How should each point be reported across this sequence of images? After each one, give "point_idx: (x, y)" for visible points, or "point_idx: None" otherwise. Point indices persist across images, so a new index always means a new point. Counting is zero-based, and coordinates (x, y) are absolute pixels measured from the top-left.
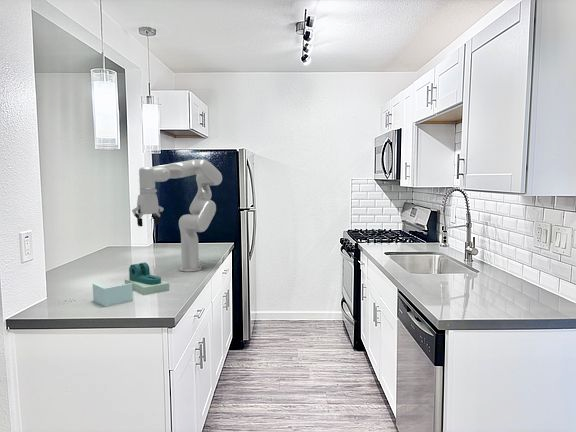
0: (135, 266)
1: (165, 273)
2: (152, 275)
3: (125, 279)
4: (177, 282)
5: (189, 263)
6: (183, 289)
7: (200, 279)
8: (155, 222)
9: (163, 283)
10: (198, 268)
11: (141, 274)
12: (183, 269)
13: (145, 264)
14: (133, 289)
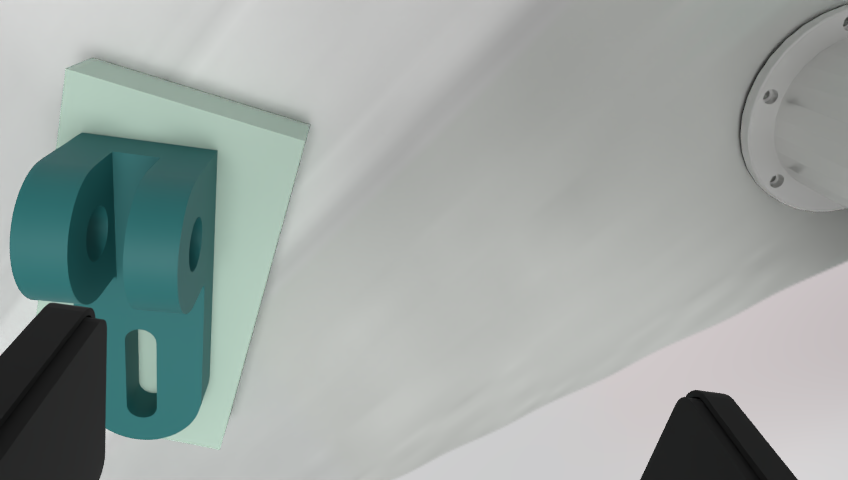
0: (24, 293)
1: (633, 10)
2: (199, 322)
3: (68, 79)
4: (413, 325)
5: (813, 179)
6: (294, 466)
7: (553, 392)
8: (693, 459)
9: (189, 430)
10: (825, 206)
11: (110, 281)
12: (757, 117)
13: (152, 306)
14: None
